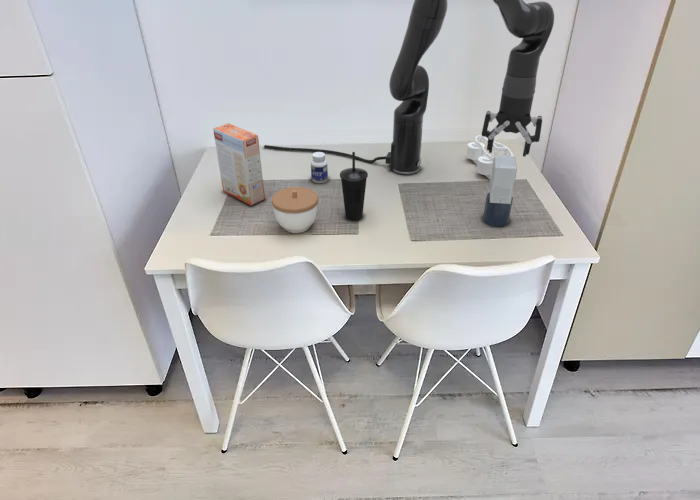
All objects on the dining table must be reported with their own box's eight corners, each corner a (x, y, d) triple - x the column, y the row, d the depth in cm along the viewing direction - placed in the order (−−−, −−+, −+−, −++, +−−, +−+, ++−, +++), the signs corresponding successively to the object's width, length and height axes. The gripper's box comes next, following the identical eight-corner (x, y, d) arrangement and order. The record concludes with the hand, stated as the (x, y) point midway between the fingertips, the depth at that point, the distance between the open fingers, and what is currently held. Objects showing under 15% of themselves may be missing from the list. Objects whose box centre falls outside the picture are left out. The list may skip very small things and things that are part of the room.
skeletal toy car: (462, 155, 185) (464, 135, 181) (493, 153, 186) (496, 134, 182) (480, 182, 169) (483, 161, 165) (514, 180, 170) (518, 159, 166)
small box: (510, 204, 143) (517, 169, 137) (489, 203, 144) (494, 167, 138) (509, 190, 149) (515, 156, 143) (488, 188, 150) (494, 154, 144)
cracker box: (266, 199, 162) (259, 134, 150) (250, 207, 158) (241, 140, 146) (238, 184, 169) (228, 121, 157) (222, 191, 166) (211, 127, 154)
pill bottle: (308, 181, 171) (307, 156, 165) (315, 174, 174) (314, 149, 169) (323, 184, 169) (322, 159, 164) (330, 177, 173) (329, 152, 168)
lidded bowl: (301, 243, 142) (299, 207, 136) (265, 230, 147) (260, 195, 141) (328, 222, 151) (327, 187, 144) (292, 210, 156) (289, 176, 150)
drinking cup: (371, 213, 154) (372, 149, 143) (360, 226, 149) (360, 160, 137) (347, 207, 157) (346, 144, 145) (336, 220, 151) (334, 155, 140)
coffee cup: (481, 224, 149) (485, 201, 144) (484, 212, 154) (487, 189, 150) (507, 228, 147) (512, 204, 143) (509, 215, 152) (513, 192, 148)
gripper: (548, 89, 131) (535, 150, 140) (489, 84, 134) (480, 144, 143) (548, 99, 125) (535, 163, 134) (486, 94, 128) (477, 156, 138)
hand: (507, 153), depth 139 cm, fingers open, 8 cm apart
